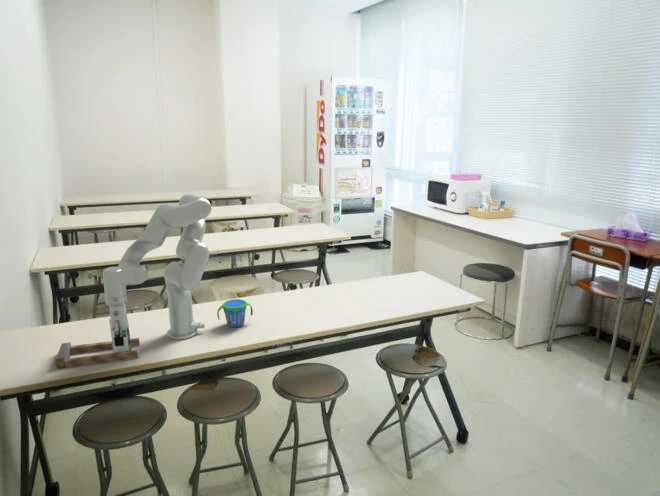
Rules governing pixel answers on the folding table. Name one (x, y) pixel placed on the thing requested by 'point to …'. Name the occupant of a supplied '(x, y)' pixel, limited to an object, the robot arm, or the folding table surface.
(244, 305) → the snack cup
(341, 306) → the folding table surface
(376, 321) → the folding table surface
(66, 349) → the guide channel
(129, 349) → the syrup box
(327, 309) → the folding table surface
